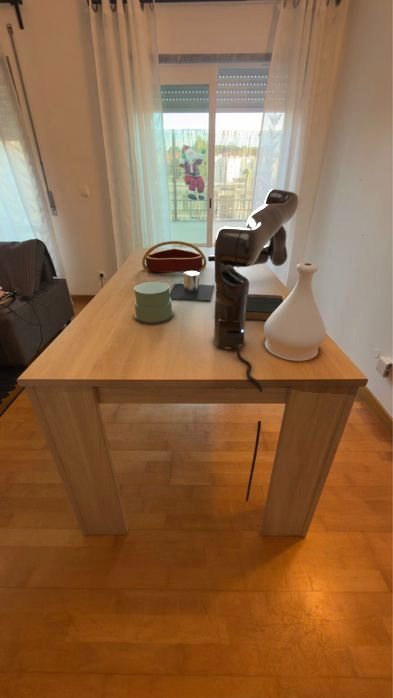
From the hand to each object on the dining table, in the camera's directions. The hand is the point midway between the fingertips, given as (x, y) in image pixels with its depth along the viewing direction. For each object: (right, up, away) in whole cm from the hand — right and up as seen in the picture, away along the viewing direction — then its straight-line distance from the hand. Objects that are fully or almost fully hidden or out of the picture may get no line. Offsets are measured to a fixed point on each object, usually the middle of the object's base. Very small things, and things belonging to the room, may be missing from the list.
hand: (212, 261), depth 120 cm
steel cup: (-9, -12, +4) cm, 16 cm away
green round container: (-22, -25, -15) cm, 37 cm away
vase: (+22, -37, -33) cm, 54 cm away
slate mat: (-9, -13, +4) cm, 16 cm away
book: (+14, -23, -11) cm, 29 cm away
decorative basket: (-18, +5, +33) cm, 38 cm away
